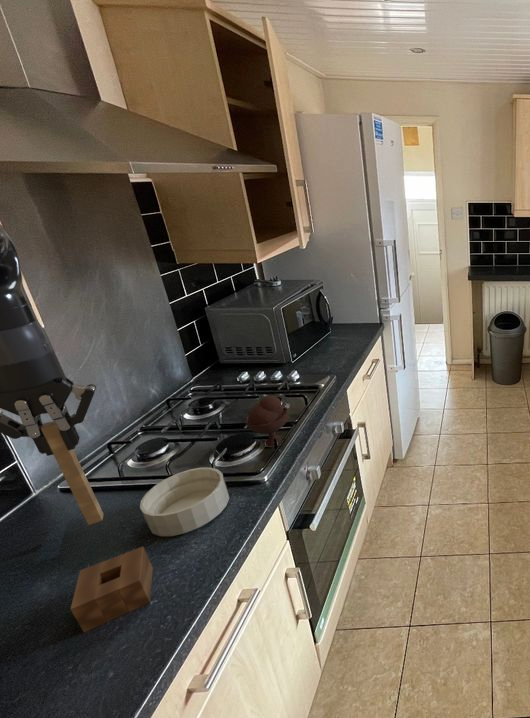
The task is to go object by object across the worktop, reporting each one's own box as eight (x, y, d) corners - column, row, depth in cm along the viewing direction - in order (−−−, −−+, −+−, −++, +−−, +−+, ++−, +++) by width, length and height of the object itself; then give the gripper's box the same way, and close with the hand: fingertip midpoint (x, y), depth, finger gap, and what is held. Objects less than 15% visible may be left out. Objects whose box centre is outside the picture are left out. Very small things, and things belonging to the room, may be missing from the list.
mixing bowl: (147, 550, 87) (137, 527, 85) (151, 506, 99) (142, 484, 96) (232, 517, 96) (225, 495, 93) (227, 479, 107) (220, 459, 105)
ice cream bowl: (278, 427, 128) (268, 385, 123) (302, 438, 123) (292, 394, 118) (244, 446, 120) (231, 401, 114) (268, 458, 115) (256, 412, 109)
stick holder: (83, 632, 72) (70, 609, 70) (92, 592, 79) (79, 570, 76) (150, 602, 77) (139, 580, 75) (153, 567, 84) (143, 545, 81)
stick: (88, 525, 72) (40, 428, 65) (90, 518, 73) (43, 423, 66) (102, 520, 73) (56, 424, 66) (103, 514, 74) (59, 419, 67)
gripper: (83, 335, 68) (120, 425, 74) (-47, 356, 60) (7, 454, 67) (75, 350, 62) (115, 446, 69) (-70, 375, 55) (-9, 480, 61)
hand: (62, 449), depth 68 cm, fingers closed on stick, 2 cm apart
